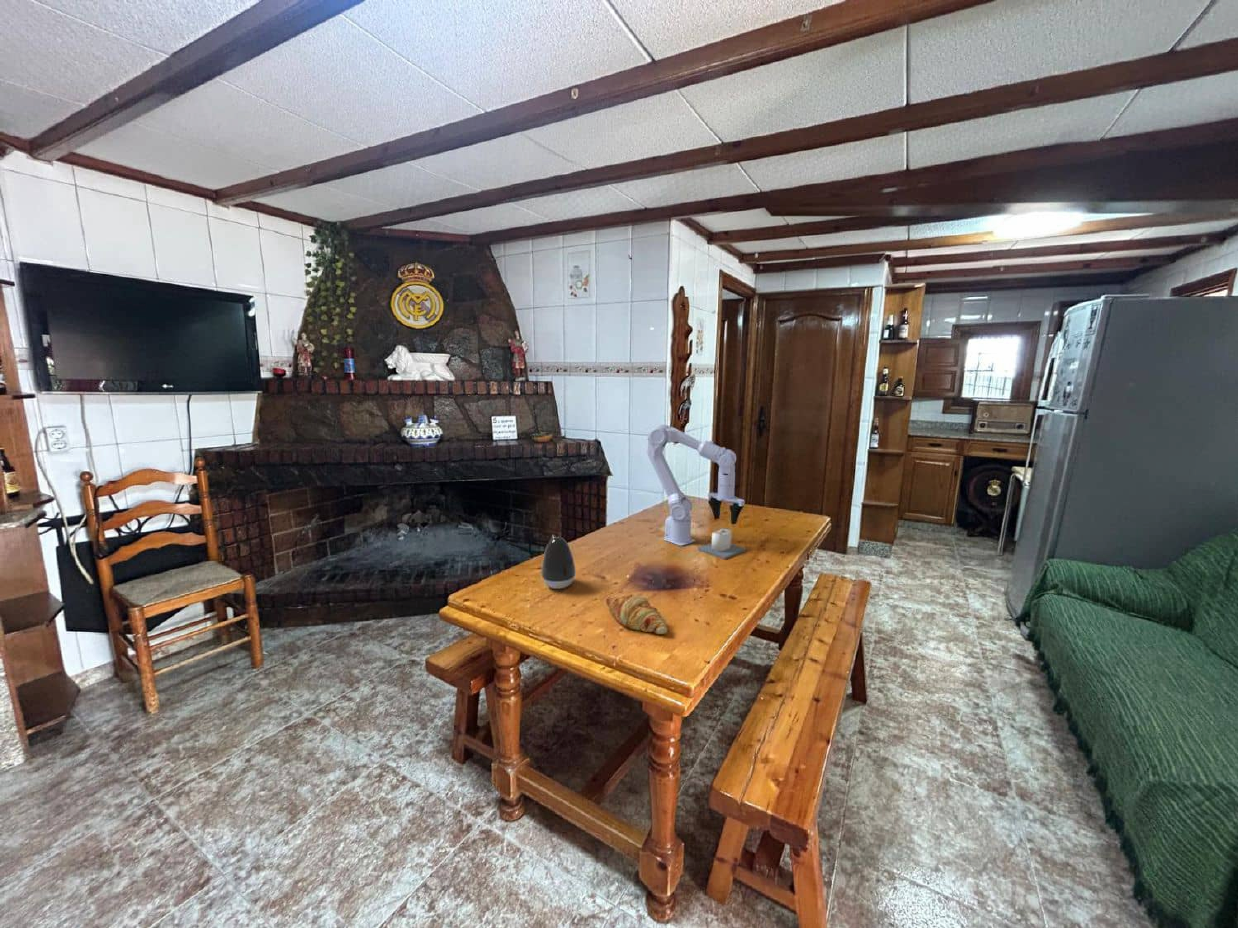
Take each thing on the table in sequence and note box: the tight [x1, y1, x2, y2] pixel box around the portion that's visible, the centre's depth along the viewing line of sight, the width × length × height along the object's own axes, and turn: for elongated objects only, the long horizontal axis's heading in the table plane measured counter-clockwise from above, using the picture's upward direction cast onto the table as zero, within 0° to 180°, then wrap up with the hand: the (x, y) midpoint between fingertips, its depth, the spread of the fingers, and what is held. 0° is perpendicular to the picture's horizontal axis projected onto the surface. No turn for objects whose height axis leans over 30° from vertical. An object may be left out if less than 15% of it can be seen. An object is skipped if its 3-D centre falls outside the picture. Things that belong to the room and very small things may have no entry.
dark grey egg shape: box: [541, 534, 577, 590], centre depth 150 cm, size 10×10×15 cm
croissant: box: [606, 593, 668, 635], centre depth 129 cm, size 21×10×8 cm, turn 45°
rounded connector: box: [711, 528, 732, 552], centre depth 176 cm, size 4×9×7 cm, turn 130°
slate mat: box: [697, 542, 747, 560], centre depth 177 cm, size 12×12×1 cm
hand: (725, 521), depth 180 cm, fingers open, 7 cm apart
